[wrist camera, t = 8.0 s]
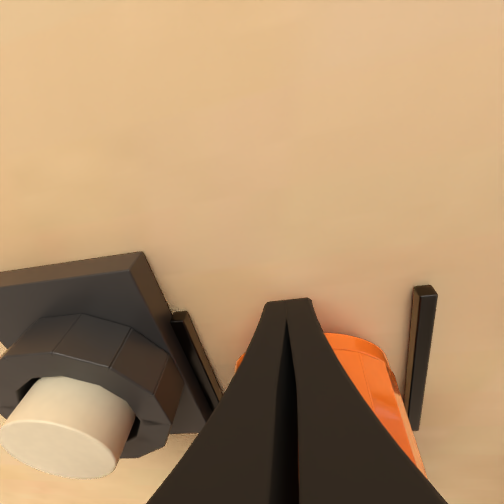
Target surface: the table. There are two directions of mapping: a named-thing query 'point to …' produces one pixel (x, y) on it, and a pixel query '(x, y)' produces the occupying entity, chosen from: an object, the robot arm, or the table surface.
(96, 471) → the button
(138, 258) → the button block
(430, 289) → the dispenser
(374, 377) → the cup
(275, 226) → the table surface
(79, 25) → the table surface
